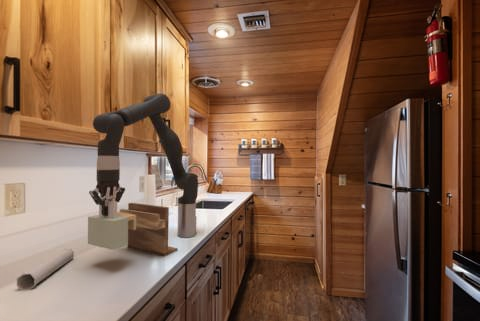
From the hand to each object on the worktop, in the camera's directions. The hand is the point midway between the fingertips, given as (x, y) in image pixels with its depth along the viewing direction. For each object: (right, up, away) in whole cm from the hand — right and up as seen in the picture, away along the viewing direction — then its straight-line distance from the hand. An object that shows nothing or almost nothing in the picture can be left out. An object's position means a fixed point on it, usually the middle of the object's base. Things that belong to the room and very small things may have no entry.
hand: (107, 215), depth 92 cm
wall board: (+8, -19, +17) cm, 27 cm away
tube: (-18, -19, -4) cm, 27 cm away
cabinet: (+1, -11, +2) cm, 11 cm away
